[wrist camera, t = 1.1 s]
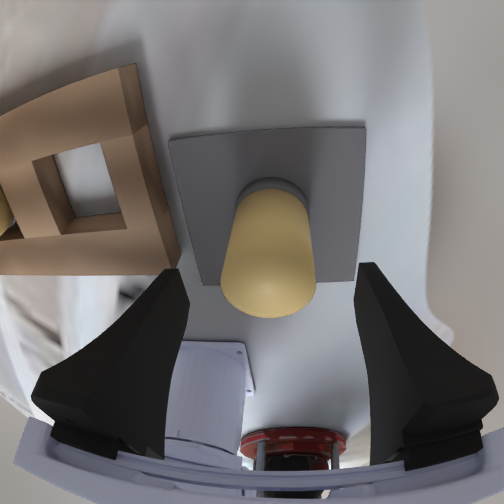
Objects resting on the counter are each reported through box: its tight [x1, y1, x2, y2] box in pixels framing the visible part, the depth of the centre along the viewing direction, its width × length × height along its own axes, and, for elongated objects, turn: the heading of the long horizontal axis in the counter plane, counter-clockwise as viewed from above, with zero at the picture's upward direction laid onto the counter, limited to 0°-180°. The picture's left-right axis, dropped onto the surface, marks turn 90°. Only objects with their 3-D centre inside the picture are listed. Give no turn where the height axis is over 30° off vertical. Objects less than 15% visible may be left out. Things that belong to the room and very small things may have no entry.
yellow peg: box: [220, 177, 316, 318], centre depth 15 cm, size 4×4×6 cm
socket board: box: [0, 63, 181, 276], centre depth 17 cm, size 12×18×2 cm, turn 96°
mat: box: [168, 127, 366, 285], centre depth 18 cm, size 10×10×1 cm
